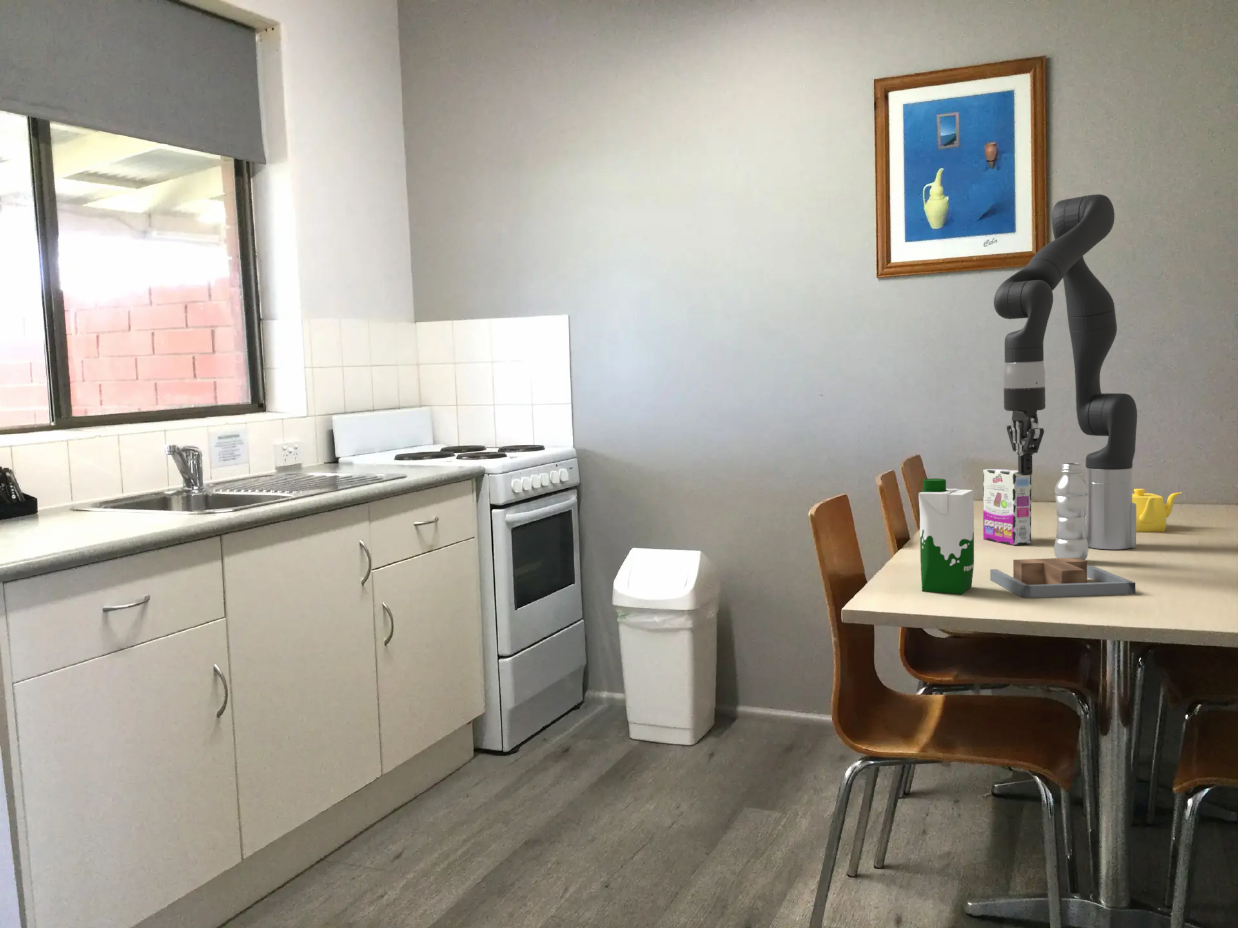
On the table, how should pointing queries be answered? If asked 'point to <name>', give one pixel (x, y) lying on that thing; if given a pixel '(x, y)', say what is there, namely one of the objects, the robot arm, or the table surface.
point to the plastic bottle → (1071, 513)
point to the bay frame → (1068, 585)
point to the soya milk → (946, 537)
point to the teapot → (1151, 510)
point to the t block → (1050, 571)
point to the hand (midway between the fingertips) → (1025, 474)
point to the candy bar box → (1006, 506)
